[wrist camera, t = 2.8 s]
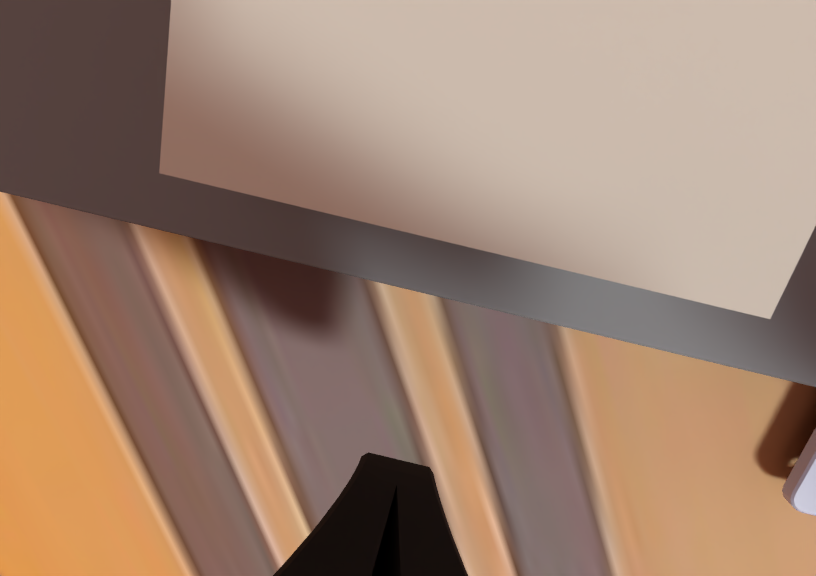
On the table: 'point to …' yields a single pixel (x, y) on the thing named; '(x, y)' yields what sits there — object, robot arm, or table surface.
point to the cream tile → (519, 127)
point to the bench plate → (300, 227)
